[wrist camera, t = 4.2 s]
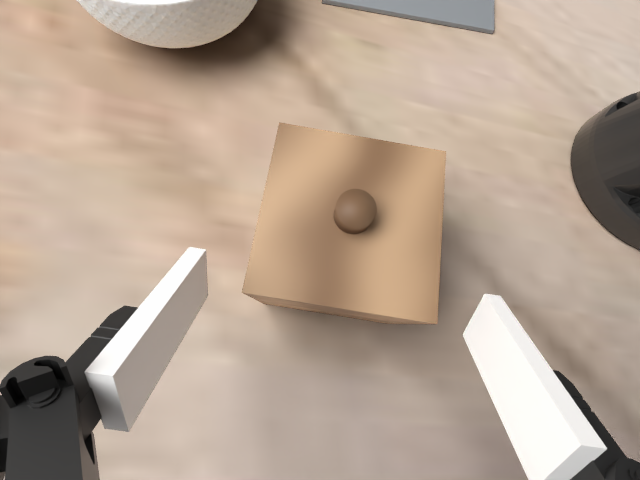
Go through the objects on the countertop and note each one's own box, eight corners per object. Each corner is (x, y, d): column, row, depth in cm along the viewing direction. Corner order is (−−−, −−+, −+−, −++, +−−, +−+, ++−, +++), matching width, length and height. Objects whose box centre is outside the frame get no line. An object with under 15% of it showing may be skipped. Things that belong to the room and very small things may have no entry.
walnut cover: (397, 208, 26) (456, 139, 16) (386, 323, 24) (448, 324, 14) (286, 189, 26) (277, 108, 16) (263, 303, 24) (236, 289, 14)
